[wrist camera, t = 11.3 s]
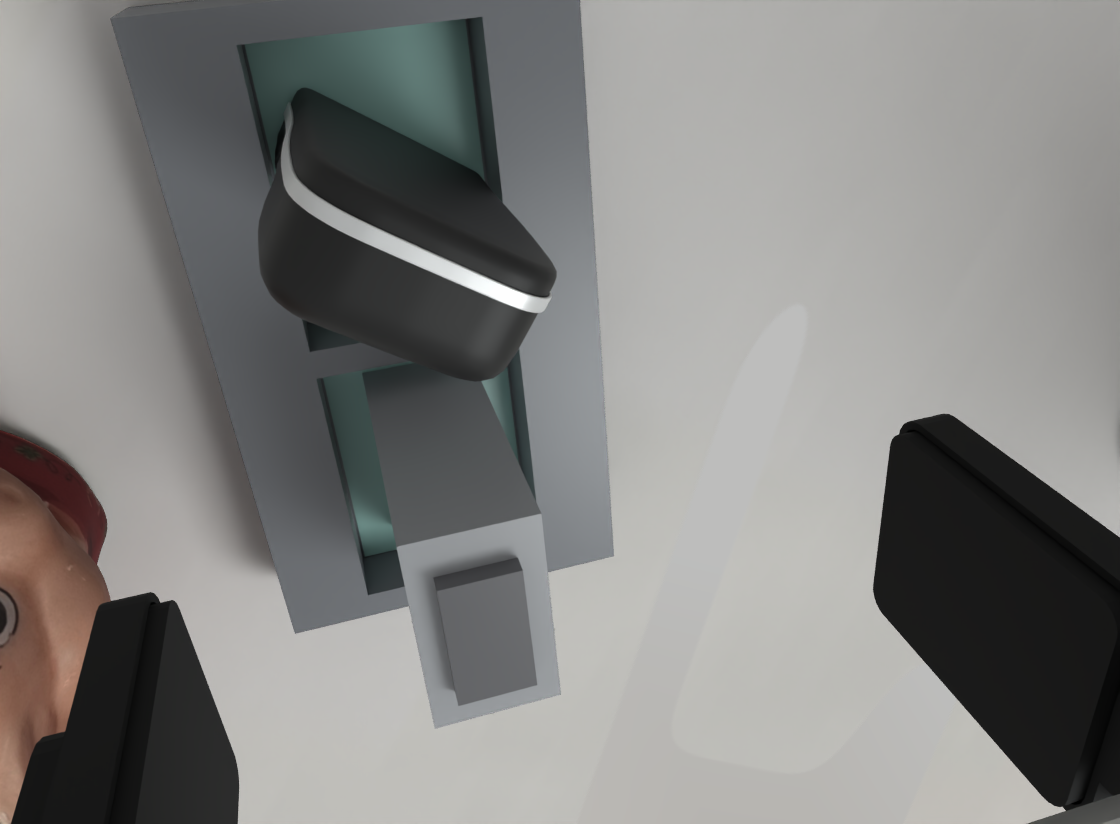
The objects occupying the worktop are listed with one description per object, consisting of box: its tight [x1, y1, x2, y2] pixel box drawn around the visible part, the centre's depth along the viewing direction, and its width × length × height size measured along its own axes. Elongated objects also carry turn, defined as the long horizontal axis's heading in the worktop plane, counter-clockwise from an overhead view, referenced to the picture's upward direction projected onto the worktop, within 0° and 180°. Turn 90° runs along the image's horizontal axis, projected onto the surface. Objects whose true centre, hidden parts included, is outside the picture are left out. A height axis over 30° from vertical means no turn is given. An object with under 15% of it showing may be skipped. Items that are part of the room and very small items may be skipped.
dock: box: [111, 0, 614, 729], centre depth 28 cm, size 13×22×13 cm, turn 4°
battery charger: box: [258, 88, 557, 382], centre depth 25 cm, size 7×4×11 cm, turn 60°
